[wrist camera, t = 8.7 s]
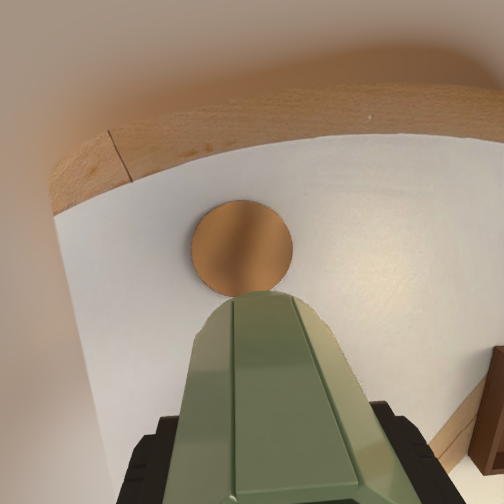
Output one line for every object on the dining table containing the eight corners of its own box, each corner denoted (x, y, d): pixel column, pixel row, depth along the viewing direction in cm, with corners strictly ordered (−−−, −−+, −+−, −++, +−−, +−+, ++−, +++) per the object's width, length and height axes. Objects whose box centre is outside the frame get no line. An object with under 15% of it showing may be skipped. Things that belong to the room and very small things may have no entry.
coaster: (291, 197, 28) (293, 199, 27) (291, 292, 31) (292, 295, 30) (186, 202, 27) (185, 204, 27) (196, 297, 30) (195, 300, 30)
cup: (328, 285, 15) (454, 474, 7) (324, 394, 17) (414, 644, 9) (191, 294, 15) (135, 502, 6) (203, 404, 17) (174, 671, 8)
